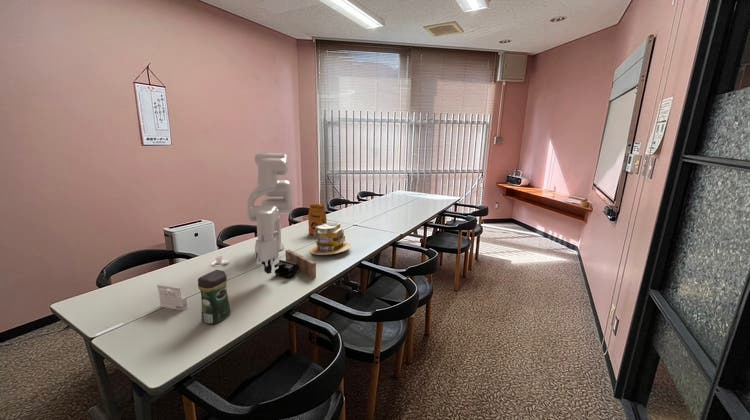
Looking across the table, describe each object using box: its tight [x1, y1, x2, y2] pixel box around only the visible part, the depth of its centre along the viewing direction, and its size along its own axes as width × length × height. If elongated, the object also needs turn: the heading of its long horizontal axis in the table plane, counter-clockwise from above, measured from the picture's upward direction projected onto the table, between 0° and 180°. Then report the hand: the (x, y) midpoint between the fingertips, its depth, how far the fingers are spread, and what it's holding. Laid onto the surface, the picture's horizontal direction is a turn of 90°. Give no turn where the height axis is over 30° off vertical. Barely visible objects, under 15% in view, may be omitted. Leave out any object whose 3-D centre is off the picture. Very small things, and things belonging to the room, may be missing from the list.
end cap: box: [273, 259, 299, 280], centre depth 155 cm, size 10×7×7 cm
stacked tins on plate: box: [309, 222, 352, 256], centre depth 188 cm, size 25×25×17 cm
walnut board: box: [285, 249, 317, 280], centre depth 160 cm, size 24×2×8 cm, turn 48°
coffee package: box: [307, 202, 328, 236], centre depth 216 cm, size 10×12×22 cm
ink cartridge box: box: [156, 284, 188, 311], centre depth 123 cm, size 2×11×10 cm, turn 77°
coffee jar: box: [197, 269, 231, 325], centre depth 117 cm, size 10×8×19 cm
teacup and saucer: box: [211, 255, 229, 267], centre depth 166 cm, size 9×8×4 cm
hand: (268, 272), depth 148 cm, fingers closed
